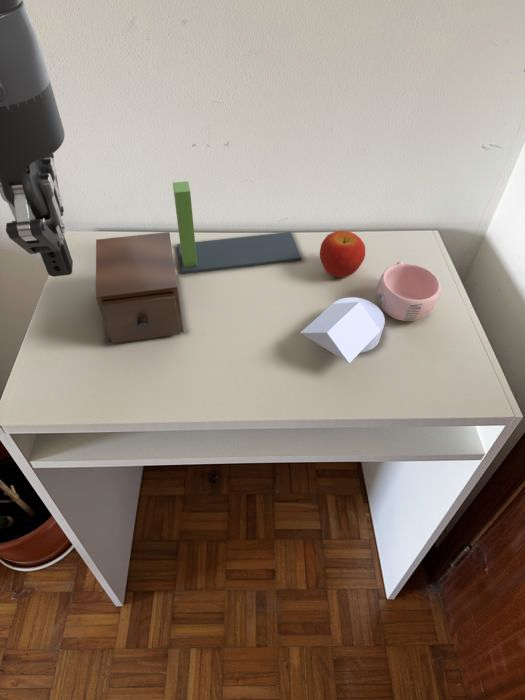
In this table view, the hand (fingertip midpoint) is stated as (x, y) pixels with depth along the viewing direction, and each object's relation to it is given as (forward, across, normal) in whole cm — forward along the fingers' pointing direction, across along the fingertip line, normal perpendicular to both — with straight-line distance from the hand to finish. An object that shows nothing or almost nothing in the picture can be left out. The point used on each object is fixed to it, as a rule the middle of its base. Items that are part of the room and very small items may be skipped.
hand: (61, 270), depth 48 cm
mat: (+27, -33, +23) cm, 49 cm away
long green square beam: (+26, -32, +14) cm, 44 cm away
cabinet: (+27, -22, +5) cm, 35 cm away
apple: (+27, -25, +40) cm, 54 cm away
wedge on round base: (+27, -9, +36) cm, 46 cm away
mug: (+27, -15, +48) cm, 57 cm away
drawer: (+26, -20, +5) cm, 33 cm away
